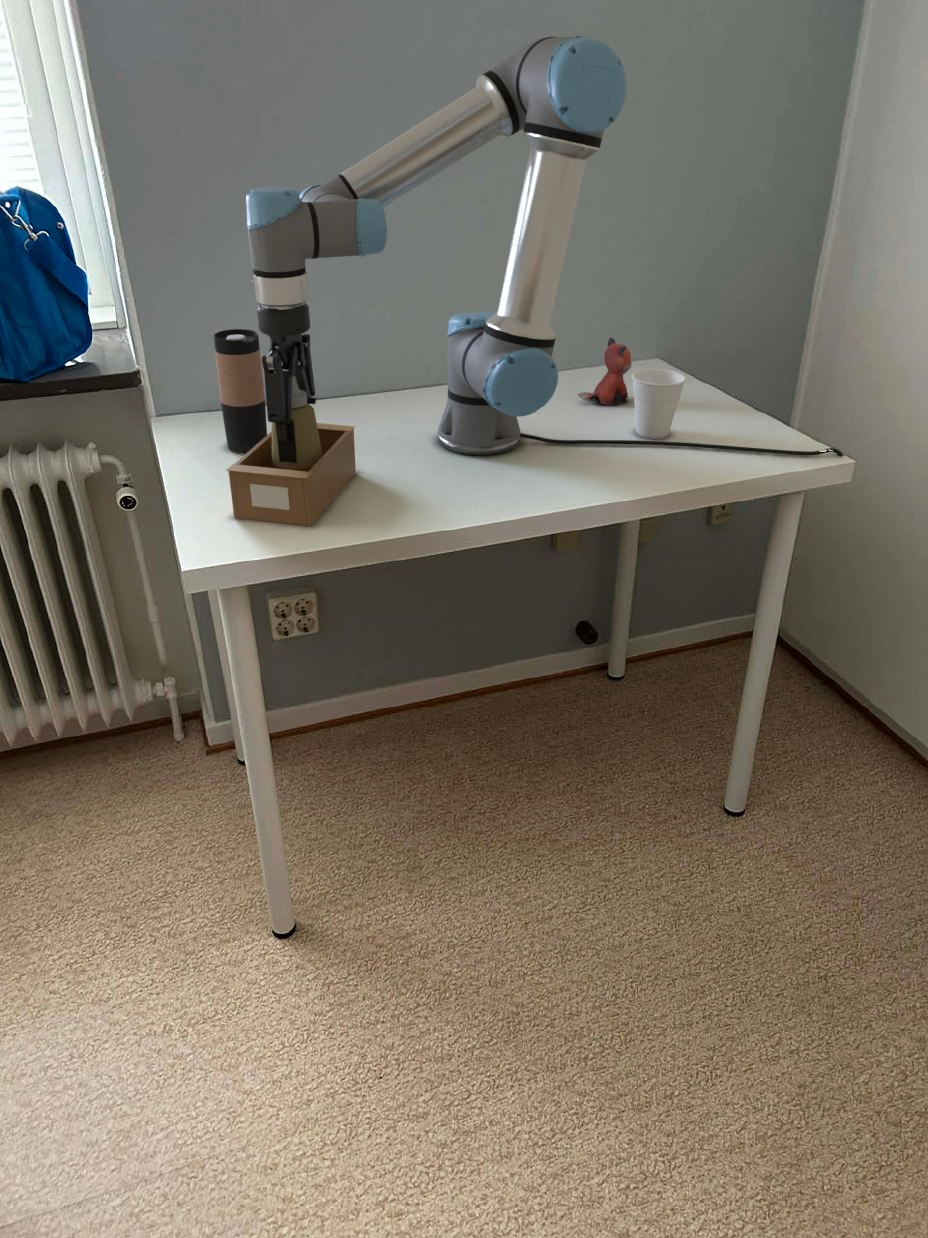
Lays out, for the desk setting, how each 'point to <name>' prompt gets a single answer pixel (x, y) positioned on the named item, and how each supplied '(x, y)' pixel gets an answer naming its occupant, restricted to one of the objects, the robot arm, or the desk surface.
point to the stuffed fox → (612, 376)
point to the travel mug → (241, 388)
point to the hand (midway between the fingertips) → (296, 452)
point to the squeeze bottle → (300, 434)
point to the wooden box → (292, 480)
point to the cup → (656, 400)
